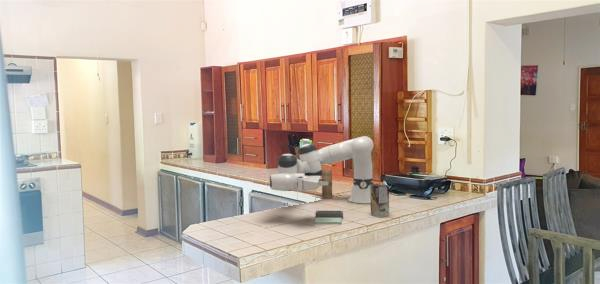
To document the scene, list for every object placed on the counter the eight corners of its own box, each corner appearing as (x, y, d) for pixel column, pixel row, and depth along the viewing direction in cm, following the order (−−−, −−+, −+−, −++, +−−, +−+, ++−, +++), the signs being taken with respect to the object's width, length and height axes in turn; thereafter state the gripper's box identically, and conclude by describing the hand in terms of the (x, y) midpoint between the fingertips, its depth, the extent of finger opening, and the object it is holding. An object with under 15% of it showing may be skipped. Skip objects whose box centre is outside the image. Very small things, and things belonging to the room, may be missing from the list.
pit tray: (316, 216, 242) (316, 210, 242) (343, 216, 241) (343, 210, 240) (315, 218, 237) (315, 212, 237) (342, 218, 236) (342, 212, 235)
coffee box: (389, 216, 239) (389, 185, 237) (378, 217, 236) (378, 186, 235) (380, 212, 247) (380, 183, 246) (370, 214, 245) (369, 184, 244)
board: (316, 219, 235) (316, 217, 235) (341, 219, 234) (341, 217, 234) (314, 223, 226) (314, 221, 226) (341, 224, 225) (341, 222, 225)
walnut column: (322, 197, 232) (322, 169, 231) (332, 197, 232) (332, 169, 231) (321, 199, 227) (321, 171, 226) (331, 199, 227) (331, 171, 226)
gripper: (303, 184, 241) (330, 184, 239) (298, 192, 221) (327, 192, 219) (303, 172, 241) (330, 172, 239) (298, 179, 220) (327, 179, 219)
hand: (328, 182), depth 229 cm, fingers closed on walnut column, 5 cm apart
